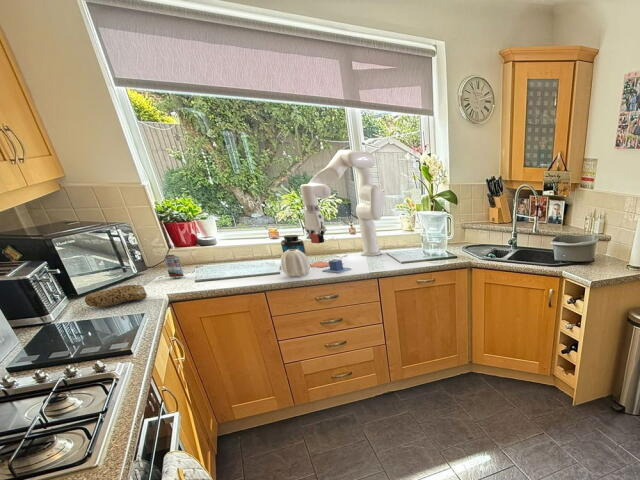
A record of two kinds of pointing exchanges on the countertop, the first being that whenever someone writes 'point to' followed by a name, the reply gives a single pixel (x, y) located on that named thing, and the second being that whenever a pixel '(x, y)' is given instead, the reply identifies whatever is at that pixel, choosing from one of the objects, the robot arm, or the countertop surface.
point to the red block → (314, 238)
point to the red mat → (320, 264)
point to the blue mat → (336, 271)
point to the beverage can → (173, 266)
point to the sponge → (115, 296)
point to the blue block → (335, 265)
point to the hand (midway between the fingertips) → (317, 241)
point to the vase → (295, 263)
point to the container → (292, 243)
